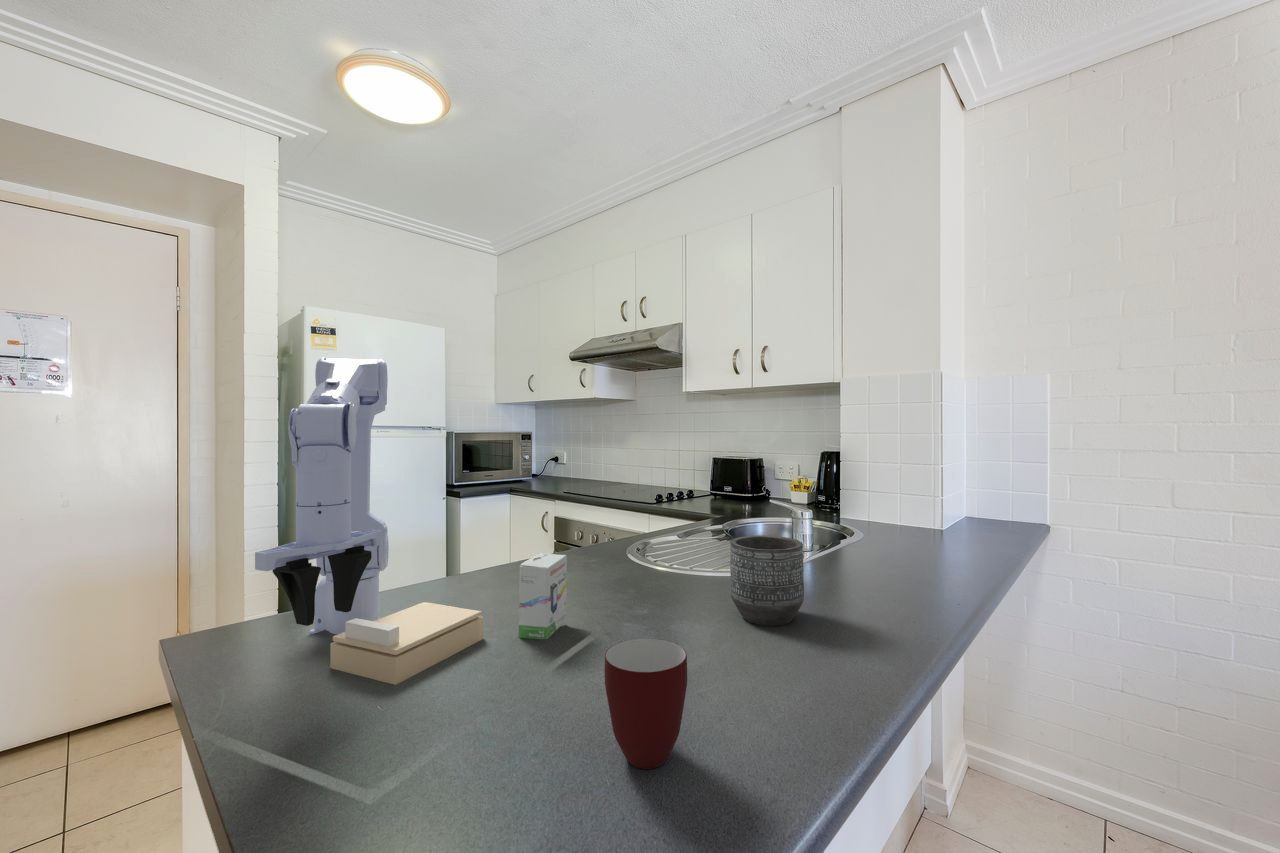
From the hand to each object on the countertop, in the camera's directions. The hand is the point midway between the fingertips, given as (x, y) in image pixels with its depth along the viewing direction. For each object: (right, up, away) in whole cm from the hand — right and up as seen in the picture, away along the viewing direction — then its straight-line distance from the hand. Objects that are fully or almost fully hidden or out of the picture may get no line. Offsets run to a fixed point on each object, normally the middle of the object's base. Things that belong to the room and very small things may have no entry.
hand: (324, 617), depth 64 cm
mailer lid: (+5, -6, +12) cm, 14 cm away
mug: (+38, -10, -11) cm, 41 cm away
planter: (+59, -10, +27) cm, 66 cm away
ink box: (+23, -10, +21) cm, 32 cm away
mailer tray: (+5, -10, +12) cm, 16 cm away
